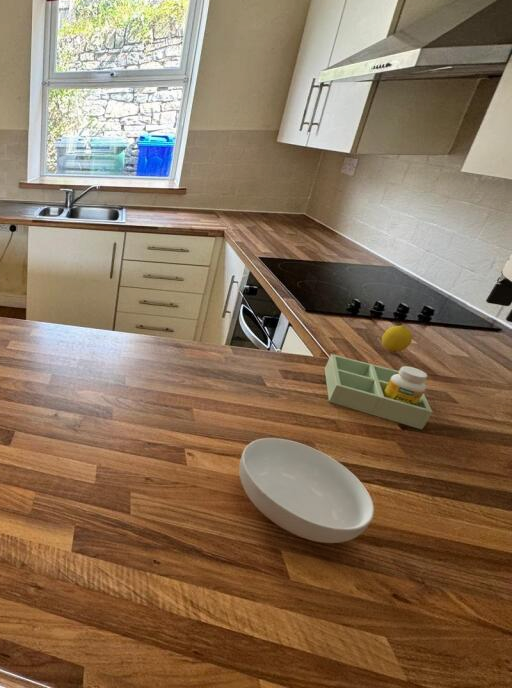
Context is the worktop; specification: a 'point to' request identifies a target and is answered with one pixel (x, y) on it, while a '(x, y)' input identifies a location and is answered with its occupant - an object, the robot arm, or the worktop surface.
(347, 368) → the compartment tray
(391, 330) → the lemon
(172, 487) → the worktop surface
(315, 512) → the cereal bowl
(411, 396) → the supplement bottle
